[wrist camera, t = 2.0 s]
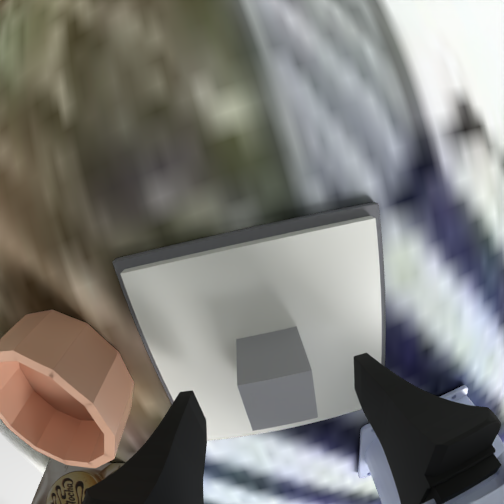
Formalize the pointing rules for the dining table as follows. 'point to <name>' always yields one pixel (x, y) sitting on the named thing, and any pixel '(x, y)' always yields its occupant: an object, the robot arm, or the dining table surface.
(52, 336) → the bowl
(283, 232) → the mat
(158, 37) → the dining table surface
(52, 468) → the coffee box
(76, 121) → the dining table surface
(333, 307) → the cover
